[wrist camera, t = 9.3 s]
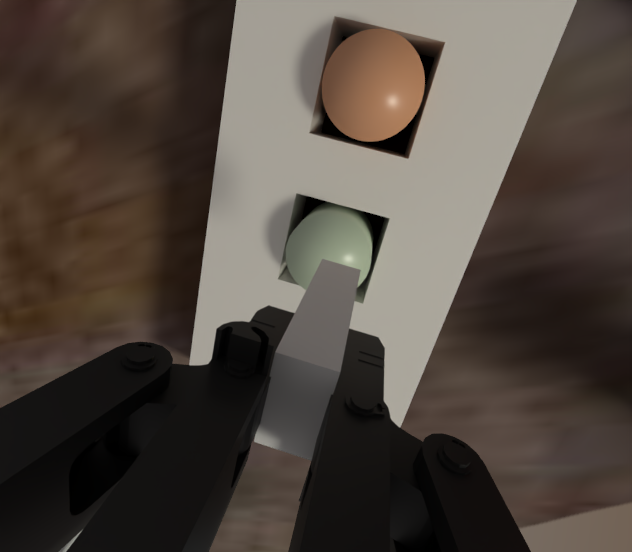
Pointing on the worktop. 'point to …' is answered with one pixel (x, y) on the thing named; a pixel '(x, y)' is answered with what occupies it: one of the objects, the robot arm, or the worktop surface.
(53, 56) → the worktop surface
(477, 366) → the worktop surface
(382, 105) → the rust button
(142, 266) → the worktop surface
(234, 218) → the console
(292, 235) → the sage button
